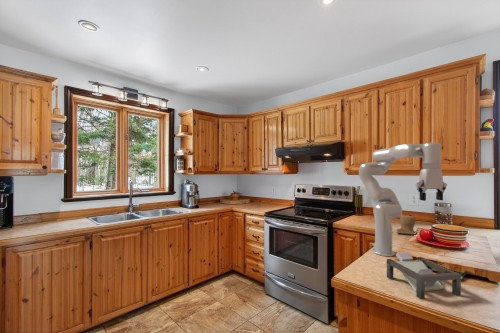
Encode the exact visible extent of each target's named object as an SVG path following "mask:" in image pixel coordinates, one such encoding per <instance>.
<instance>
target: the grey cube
mask: <svg viewBox="0 0 500 333" xmlns="http://www.w3.org/2000/svg"><path fill="white" fill-rule="evenodd" d="M418 274H420V275H427V274H435V272H434V271H431V270H430V268H428V269H420V270H419V272H418ZM435 283H436V281H431V282H425V286H433V285H434V284H435Z"/></svg>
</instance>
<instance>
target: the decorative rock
mask: <svg viewBox="0 0 500 333" xmlns="http://www.w3.org/2000/svg"><path fill="white" fill-rule="evenodd" d="M429 269H430V270H431V271H432V272H436V274H441V273H442V272H440V271H438V270H436V269H433V268H431V267H429ZM456 273H459V274H461V280H463V279H464V278H465V276H466V275H467V273H466V272H465V273H461V272H456Z"/></svg>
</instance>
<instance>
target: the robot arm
mask: <svg viewBox="0 0 500 333" xmlns="http://www.w3.org/2000/svg"><path fill="white" fill-rule="evenodd" d="M371 157H372V160H373V161H374V162H364V163H362V164H360V166H359V168H358V176H359V178H360V180H361V182H362V184H363V185H364V188H365V190H366V192H367V195H368V196H369V199H370V200H371V202H372V203H376V204H375V205H374V206H373V210H372V212H373V217H374V242H372V244H371V245H372V246H373V247H374V248H372V250H371V251H372V252H373V253H374V254H376V255H378V256H383V257H394V256H396V253H395V251H394V250H393V225H392V221H391V220H390V219H395V218H400V217H401V215H402V214H403V208H402V206H401V203H400V201H399V200H398V198H397V196H396V194H395V192H394V191H393V190H392V189H390V188H388V187H382V186H380V183H379V181H378V180H377V179H376V178H375V177H374V176H377V175H378V176H379V175H384V174H386V172H388V170H389V169H390V168H391V167H392V166H393V164H394V162H396V161H399V160H400V159H403V158H404V159H407V158H409V159H410V158H413V159H414V158H420V159H422V161H421V162H422V163H421V165H422V166H421V168H422V169H420V172H419V176H418V177H419V178H418V182H417V183H415V187H416V190H417V192H418V193H419V201H423V202H424V201H425V202H426V200H427V193H426V192H427V190H436V192H435V199H436V200H437V201H443V200H444V193H445V190H446V189H447V186H448V183H447V182H445V181H444V178H443V172H442V169H441V168H442V161H441V160H442V145H441V143H439V142H426V143H403V144H398V145H394V146H392V147H387V148H381V149H377V150H375V151H374V152H372V156H371Z"/></svg>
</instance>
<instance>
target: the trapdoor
mask: <svg viewBox="0 0 500 333" xmlns="http://www.w3.org/2000/svg"><path fill="white" fill-rule="evenodd" d="M395 256H396V258H397V260H399V261H396V262H397V263H399V264H401V265H403V266H405V267H406V268H408V269H410V270H412V271H414V272H416V273H418V272H419V270H420V269H429V268H428V266H427V265H424V263H423V262H422V261H421V260H418V259H416V260H413V259H414V258H413V256H412V255H411V254H410V253H409V252H408V251H401V252H400V251H399V252H397V253H395ZM401 274H402V275H403V277H404V278H405V279H406V281H407V282H408V284H409V286H411V288H412V290H414V292H415V293H416V279H414V278H412V277H410V276H408V275H407V274H405V273H403V272H401ZM444 288H445V287H444V286H443V285H442V284H441V283H440V281H436V283H435V284H434V285H433V286H425V292H426V291H427V292H428V291H440V290H444Z"/></svg>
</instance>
